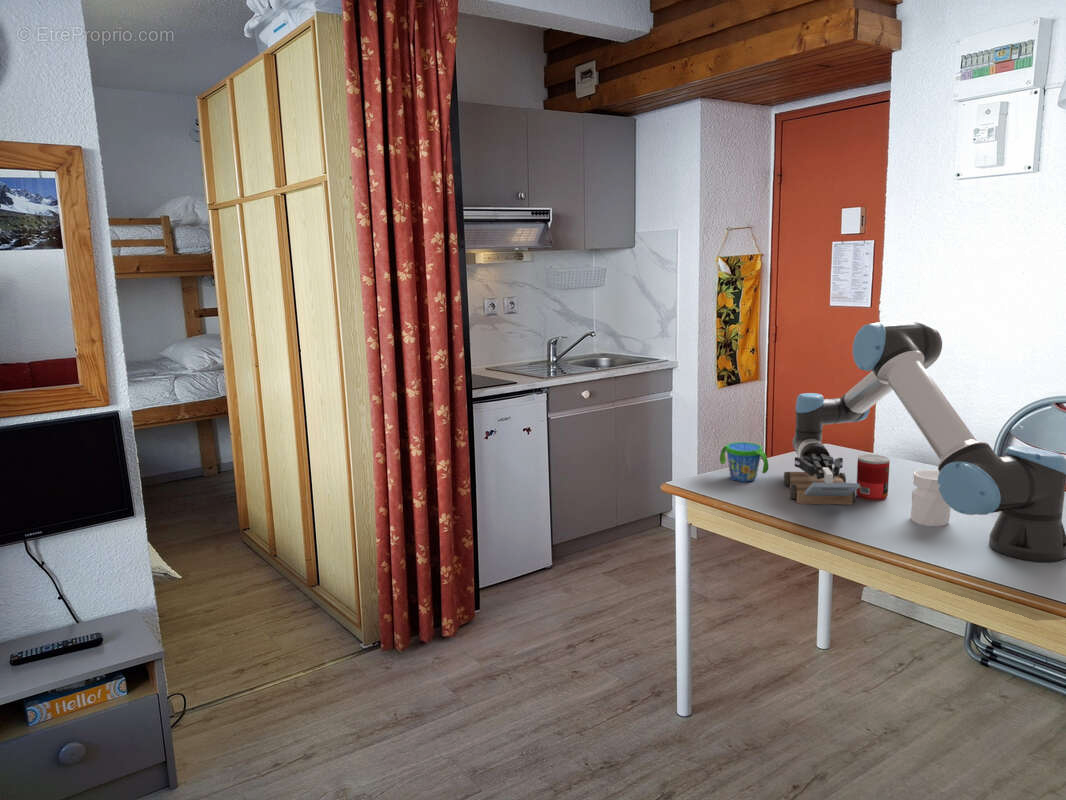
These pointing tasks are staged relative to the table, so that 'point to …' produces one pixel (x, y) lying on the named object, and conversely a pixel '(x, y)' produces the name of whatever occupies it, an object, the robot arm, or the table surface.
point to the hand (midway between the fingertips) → (829, 479)
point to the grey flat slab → (832, 489)
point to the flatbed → (803, 481)
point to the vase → (928, 500)
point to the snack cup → (744, 460)
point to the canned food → (873, 477)
